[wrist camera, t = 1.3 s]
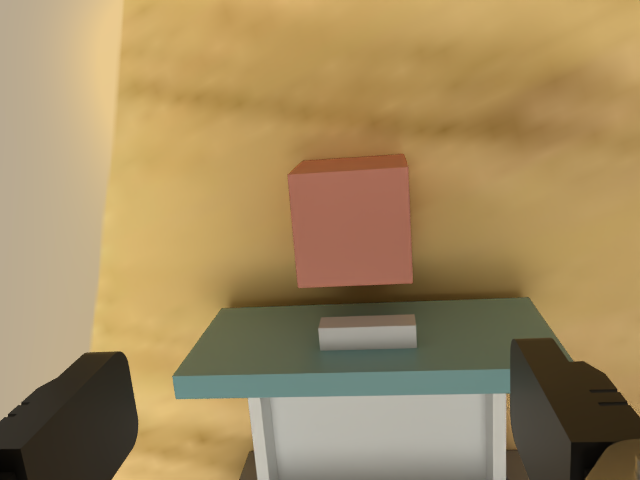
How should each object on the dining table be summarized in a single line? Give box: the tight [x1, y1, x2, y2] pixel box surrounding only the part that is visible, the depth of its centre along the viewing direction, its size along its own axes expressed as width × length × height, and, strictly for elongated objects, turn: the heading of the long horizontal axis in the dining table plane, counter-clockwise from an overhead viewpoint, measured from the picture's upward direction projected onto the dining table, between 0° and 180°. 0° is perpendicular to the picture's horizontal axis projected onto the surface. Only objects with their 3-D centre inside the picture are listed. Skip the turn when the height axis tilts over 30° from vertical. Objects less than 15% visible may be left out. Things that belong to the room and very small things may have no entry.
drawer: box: [172, 297, 574, 480], centre depth 27 cm, size 15×14×7 cm
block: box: [288, 154, 413, 288], centre depth 27 cm, size 5×5×5 cm
